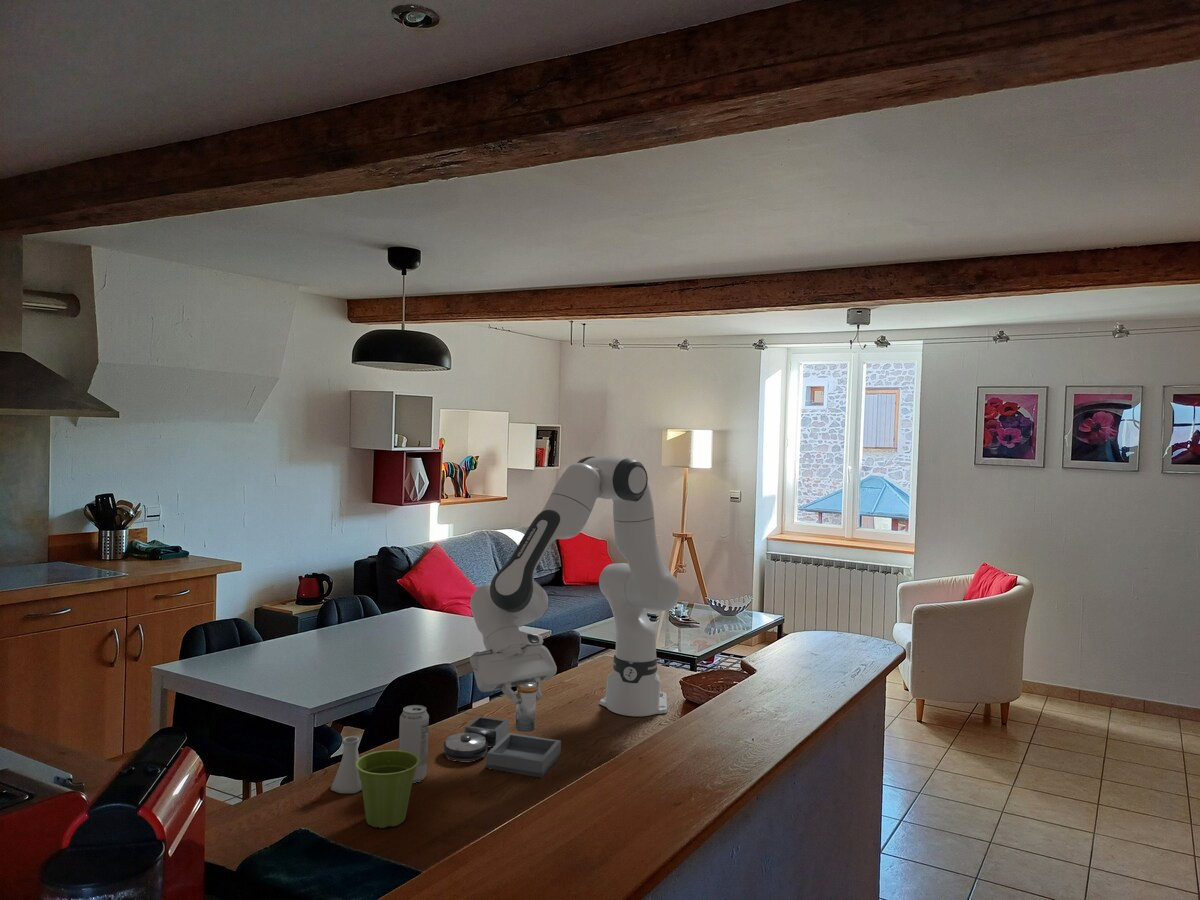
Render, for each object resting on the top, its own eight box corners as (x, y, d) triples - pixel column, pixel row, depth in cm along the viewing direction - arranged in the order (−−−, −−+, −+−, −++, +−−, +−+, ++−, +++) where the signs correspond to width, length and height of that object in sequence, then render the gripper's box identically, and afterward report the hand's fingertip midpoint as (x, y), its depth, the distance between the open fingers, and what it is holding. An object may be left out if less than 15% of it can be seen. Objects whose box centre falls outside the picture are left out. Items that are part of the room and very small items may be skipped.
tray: (507, 747, 194) (508, 732, 194) (560, 755, 191) (561, 740, 191) (486, 768, 182) (486, 753, 182) (542, 777, 178) (542, 761, 178)
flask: (356, 797, 165) (358, 747, 165) (323, 792, 167) (325, 743, 167) (373, 782, 173) (375, 734, 172) (341, 777, 174) (343, 730, 174)
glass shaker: (519, 723, 189) (521, 680, 189) (537, 726, 188) (540, 682, 187) (512, 730, 184) (514, 685, 184) (531, 733, 183) (533, 688, 183)
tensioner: (470, 730, 204) (470, 714, 204) (508, 736, 201) (508, 719, 201) (435, 759, 185) (436, 741, 185) (476, 766, 183) (477, 747, 183)
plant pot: (422, 806, 163) (424, 749, 162) (410, 836, 151) (413, 775, 150) (361, 804, 162) (364, 748, 162) (345, 834, 150) (347, 773, 150)
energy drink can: (401, 772, 178) (404, 703, 178) (429, 773, 178) (432, 704, 177) (393, 784, 172) (396, 712, 172) (422, 785, 172) (425, 714, 171)
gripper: (473, 646, 184) (494, 701, 177) (546, 635, 198) (570, 686, 190) (461, 661, 188) (482, 716, 181) (535, 649, 201) (557, 700, 194)
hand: (528, 700), depth 185 cm, fingers closed on glass shaker, 4 cm apart
